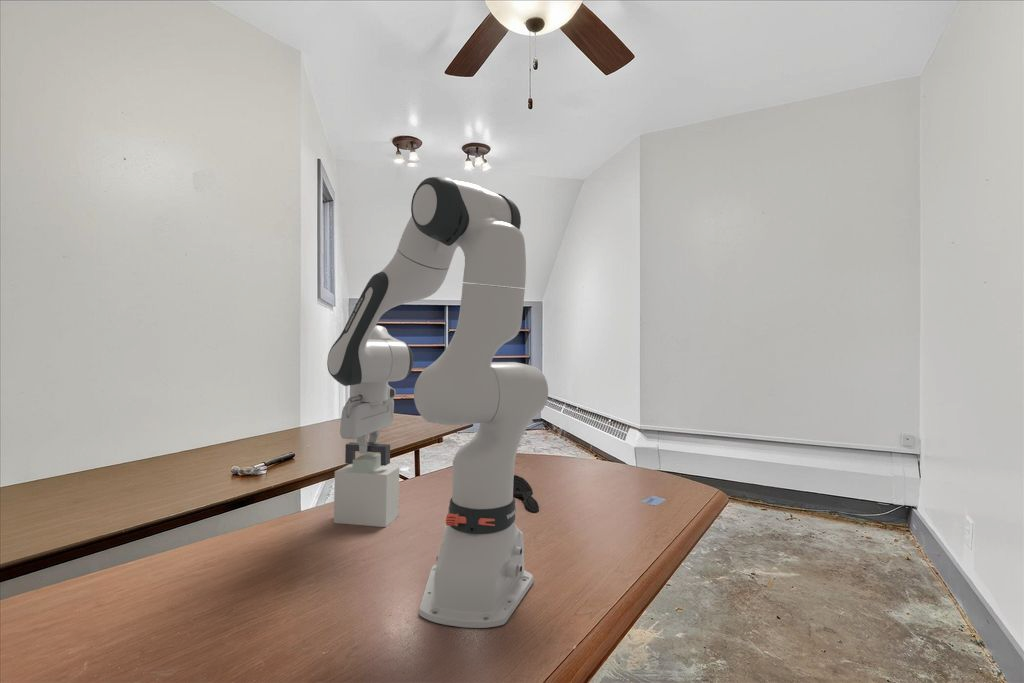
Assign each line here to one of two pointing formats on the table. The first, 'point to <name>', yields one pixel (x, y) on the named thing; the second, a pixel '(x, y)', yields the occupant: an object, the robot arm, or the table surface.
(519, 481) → the hairbrush
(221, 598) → the table surface
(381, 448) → the frame
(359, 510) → the stand
